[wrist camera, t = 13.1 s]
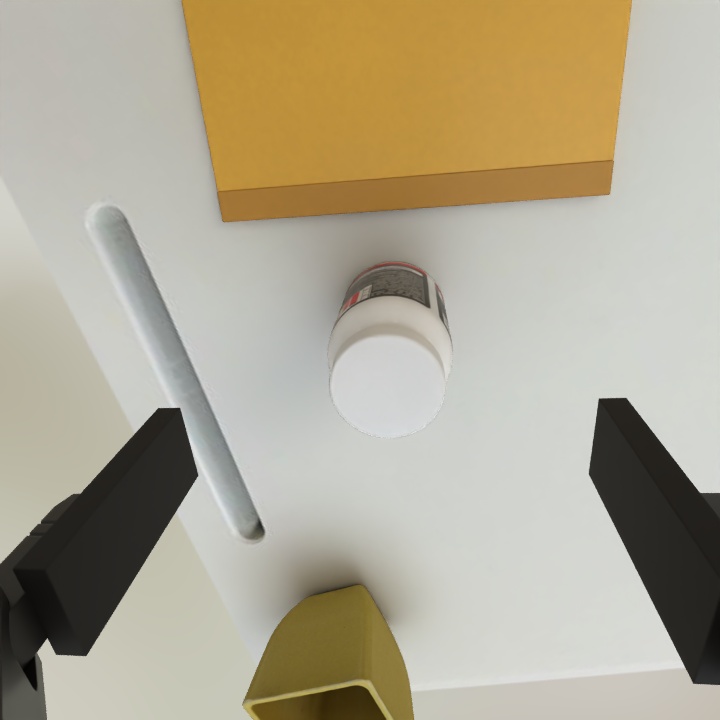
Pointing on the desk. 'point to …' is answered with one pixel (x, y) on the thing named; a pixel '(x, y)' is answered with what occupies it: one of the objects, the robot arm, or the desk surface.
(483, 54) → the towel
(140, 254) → the desk surface
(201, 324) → the desk surface
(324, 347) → the desk surface
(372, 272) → the pill bottle
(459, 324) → the desk surface
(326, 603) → the flower pot
